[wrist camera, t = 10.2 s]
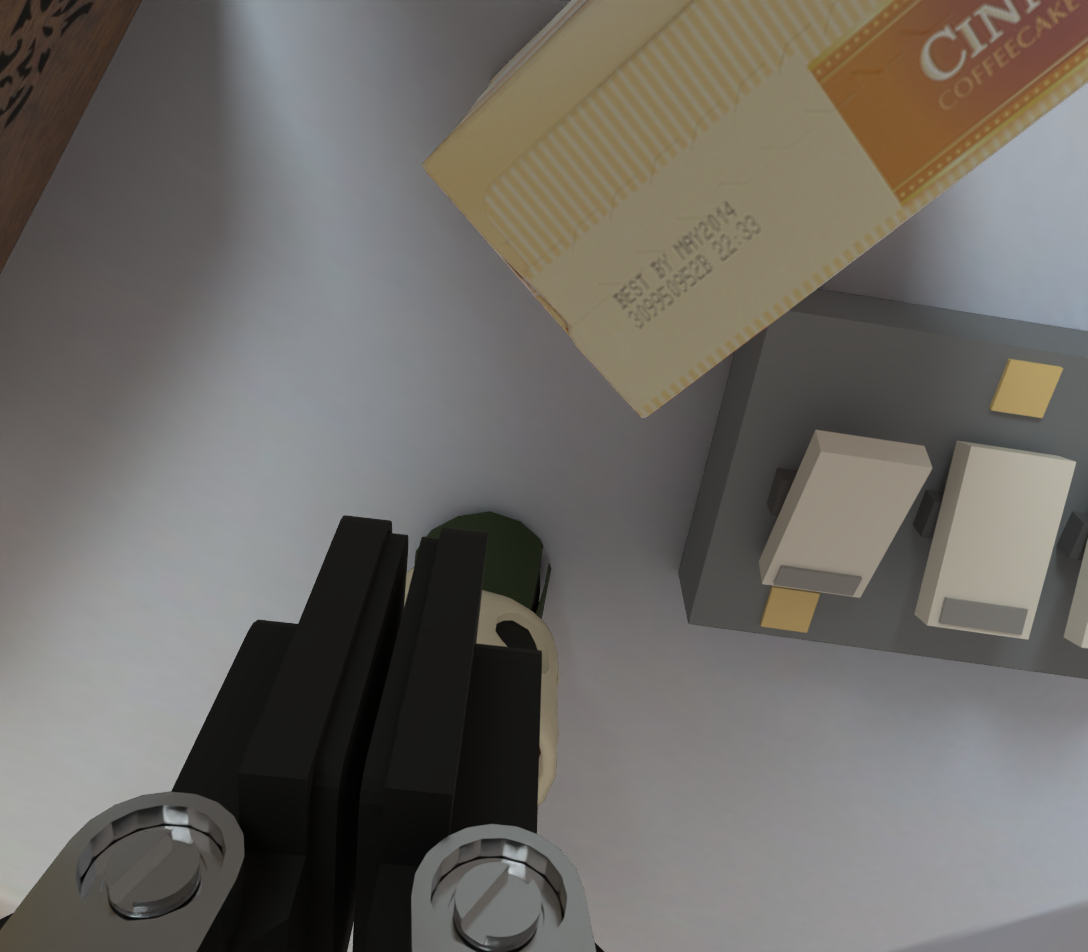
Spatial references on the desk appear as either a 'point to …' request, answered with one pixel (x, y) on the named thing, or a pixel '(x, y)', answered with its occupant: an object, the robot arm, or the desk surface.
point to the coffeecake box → (735, 155)
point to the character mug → (516, 614)
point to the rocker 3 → (1079, 608)
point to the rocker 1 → (842, 512)
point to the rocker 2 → (993, 539)
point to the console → (895, 415)
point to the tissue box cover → (47, 91)
